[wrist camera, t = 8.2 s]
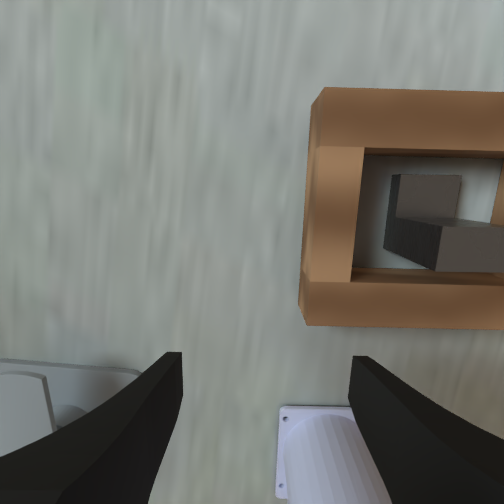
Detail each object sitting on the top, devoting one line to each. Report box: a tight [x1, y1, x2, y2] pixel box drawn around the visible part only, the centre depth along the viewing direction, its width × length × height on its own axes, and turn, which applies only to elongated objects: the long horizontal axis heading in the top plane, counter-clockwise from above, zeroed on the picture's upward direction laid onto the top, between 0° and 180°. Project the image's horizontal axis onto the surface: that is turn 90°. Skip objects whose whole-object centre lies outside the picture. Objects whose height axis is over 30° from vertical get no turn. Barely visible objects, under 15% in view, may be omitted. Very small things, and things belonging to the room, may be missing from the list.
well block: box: [298, 87, 504, 330], centre depth 18 cm, size 14×16×4 cm
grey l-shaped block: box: [383, 174, 504, 273], centre depth 17 cm, size 5×4×6 cm
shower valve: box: [0, 359, 142, 457], centre depth 22 cm, size 12×6×15 cm
